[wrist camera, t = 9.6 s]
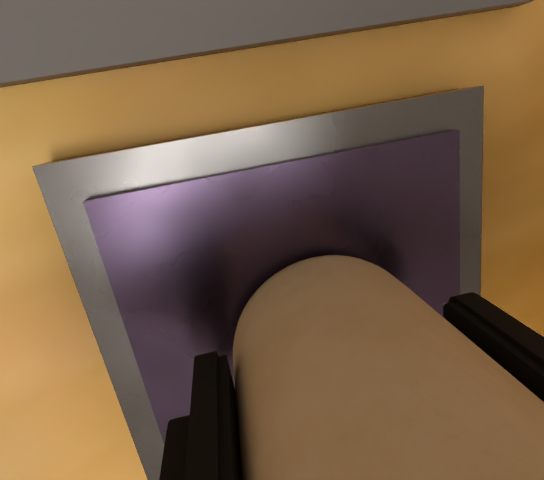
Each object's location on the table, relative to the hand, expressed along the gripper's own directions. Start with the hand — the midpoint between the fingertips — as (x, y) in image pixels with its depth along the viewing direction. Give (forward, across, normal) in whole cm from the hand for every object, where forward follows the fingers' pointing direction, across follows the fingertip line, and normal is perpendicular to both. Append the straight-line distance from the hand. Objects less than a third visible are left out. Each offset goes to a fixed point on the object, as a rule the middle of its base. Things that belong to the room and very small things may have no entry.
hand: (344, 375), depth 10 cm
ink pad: (+4, 0, 0) cm, 4 cm away
